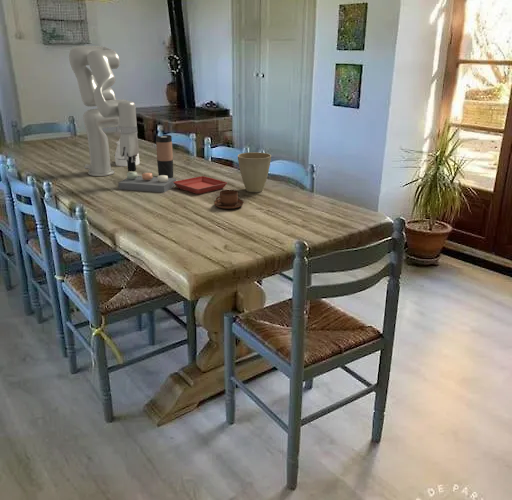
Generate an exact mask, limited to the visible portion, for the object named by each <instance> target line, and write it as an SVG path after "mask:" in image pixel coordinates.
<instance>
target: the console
mask: <svg viewBox="0 0 512 500" xmlns="http://www.w3.org/2000/svg"><path fill="white" fill-rule="evenodd" d="M175 181H177V178H174V177H172V178H168V182H158V176H153V179H150V180H144V179H142V175H137V178H135V179H129V178H127V177H125V179H122V180H121V181H119V182H118V190H127V191H128V190H129V191H138V192H139V191H140V192H151V191H152V192H153V193H155V192H156V193H166V192H167V191H169V190H171V189H172V188H174V187H175V186H176V185H175V184H174V183H173V182H175ZM173 186H174V187H173ZM170 188H171V189H170ZM152 192H151V193H152Z"/></svg>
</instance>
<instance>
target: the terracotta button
mask: <svg viewBox="0 0 512 500" xmlns="http://www.w3.org/2000/svg"><path fill="white" fill-rule="evenodd" d="M141 176H142V179H144V180H150V179H153V177H154V176H153V173H152V172H143V173H141Z"/></svg>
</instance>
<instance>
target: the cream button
mask: <svg viewBox="0 0 512 500" xmlns="http://www.w3.org/2000/svg"><path fill="white" fill-rule="evenodd" d="M157 177H158V182H168V176H166V175H160V176H159V175H157Z"/></svg>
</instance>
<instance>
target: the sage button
mask: <svg viewBox="0 0 512 500" xmlns="http://www.w3.org/2000/svg"><path fill="white" fill-rule="evenodd" d="M137 176H138V172H137V171H128V172H126V178H129V179H135V178H137Z"/></svg>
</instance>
